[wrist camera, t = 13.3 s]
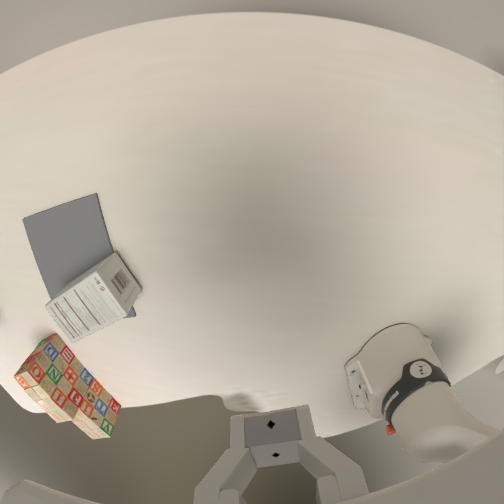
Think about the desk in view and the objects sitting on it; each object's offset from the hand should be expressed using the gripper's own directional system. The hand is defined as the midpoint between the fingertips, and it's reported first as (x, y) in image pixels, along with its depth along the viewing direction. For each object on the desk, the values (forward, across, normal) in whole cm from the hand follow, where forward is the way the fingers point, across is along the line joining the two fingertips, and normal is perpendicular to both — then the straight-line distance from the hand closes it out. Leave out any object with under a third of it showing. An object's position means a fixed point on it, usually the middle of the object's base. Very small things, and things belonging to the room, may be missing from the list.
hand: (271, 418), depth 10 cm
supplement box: (+27, -18, -4) cm, 33 cm away
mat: (+31, -28, -2) cm, 42 cm away
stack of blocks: (+32, -40, -25) cm, 57 cm away
